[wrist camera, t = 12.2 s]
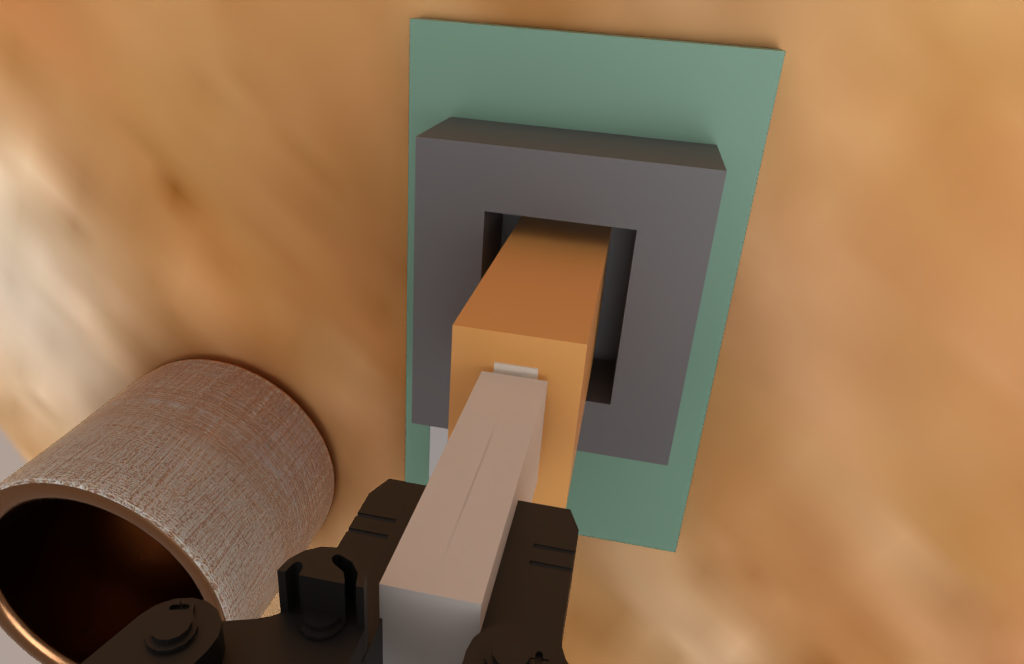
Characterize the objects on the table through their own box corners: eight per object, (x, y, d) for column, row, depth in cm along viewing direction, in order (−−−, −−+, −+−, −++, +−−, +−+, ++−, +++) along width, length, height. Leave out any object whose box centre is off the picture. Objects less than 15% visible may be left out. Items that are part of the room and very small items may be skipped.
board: (675, 533, 32) (677, 624, 27) (412, 486, 33) (373, 565, 29) (779, 49, 23) (809, 61, 19) (420, 17, 25) (366, 21, 20)
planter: (131, 321, 33) (-57, 436, 24) (357, 396, 32) (246, 541, 23) (128, 502, 38) (-30, 651, 29) (324, 570, 37) (222, 743, 28)
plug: (596, 338, 26) (565, 511, 17) (516, 327, 27) (445, 490, 18) (612, 220, 25) (586, 345, 16) (526, 209, 25) (451, 326, 16)
